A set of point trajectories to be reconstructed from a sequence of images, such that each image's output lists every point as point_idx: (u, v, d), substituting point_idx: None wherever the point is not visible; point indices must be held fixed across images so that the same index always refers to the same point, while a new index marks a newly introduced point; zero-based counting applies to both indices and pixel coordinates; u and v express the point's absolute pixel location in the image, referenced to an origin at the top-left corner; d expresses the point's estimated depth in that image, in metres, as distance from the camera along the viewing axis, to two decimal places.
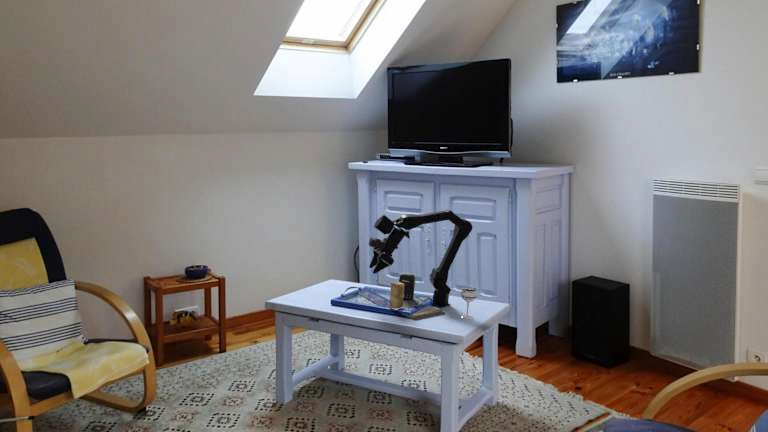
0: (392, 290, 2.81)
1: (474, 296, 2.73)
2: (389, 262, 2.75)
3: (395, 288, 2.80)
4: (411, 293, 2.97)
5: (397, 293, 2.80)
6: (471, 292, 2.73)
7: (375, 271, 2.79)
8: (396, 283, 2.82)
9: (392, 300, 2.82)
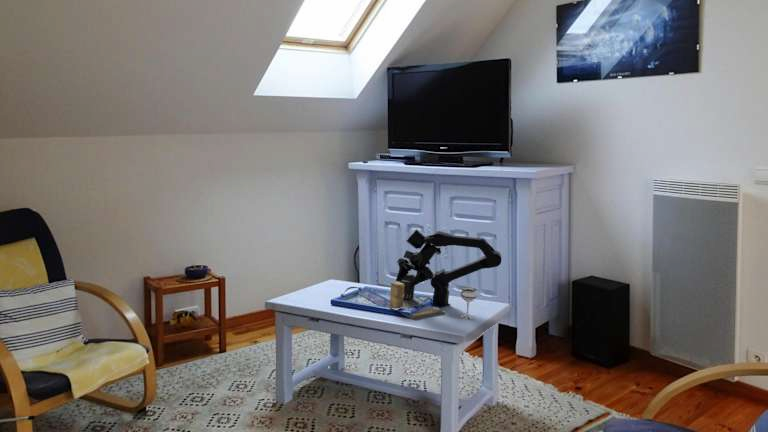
0: (392, 290, 2.81)
1: (474, 296, 2.73)
2: (430, 276, 2.80)
3: (395, 288, 2.80)
4: (411, 293, 2.97)
5: (397, 293, 2.80)
6: (471, 292, 2.73)
7: (412, 284, 2.81)
8: (396, 283, 2.82)
9: (392, 300, 2.82)
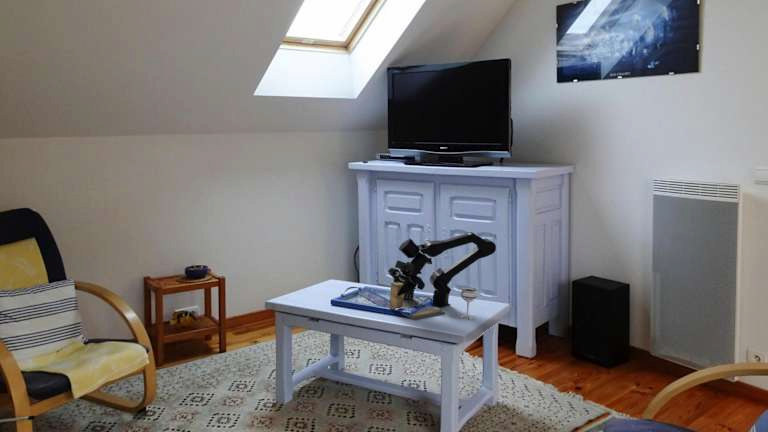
0: (392, 290, 2.81)
1: (474, 296, 2.73)
2: (422, 286, 2.78)
3: (395, 288, 2.80)
4: (411, 293, 2.97)
5: (397, 293, 2.80)
6: (471, 292, 2.73)
7: (400, 293, 2.80)
8: (396, 283, 2.81)
9: (392, 300, 2.82)
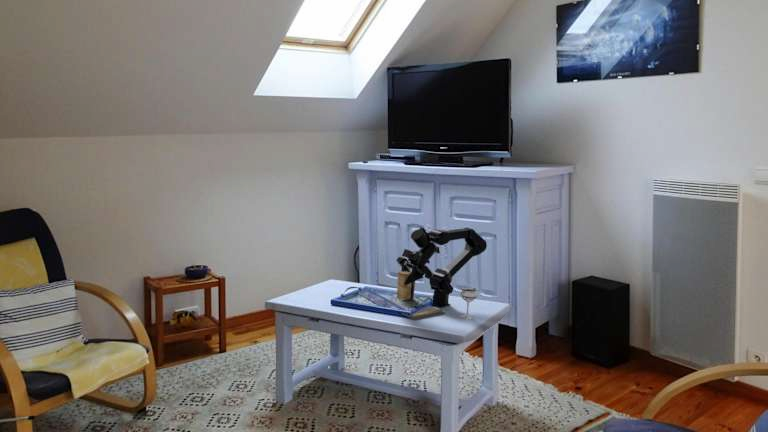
0: (399, 279, 2.77)
1: (474, 296, 2.73)
2: (429, 275, 2.73)
3: (402, 277, 2.76)
4: (411, 293, 2.97)
5: (404, 282, 2.76)
6: (471, 292, 2.73)
7: (407, 282, 2.76)
8: (404, 272, 2.77)
9: (399, 289, 2.78)
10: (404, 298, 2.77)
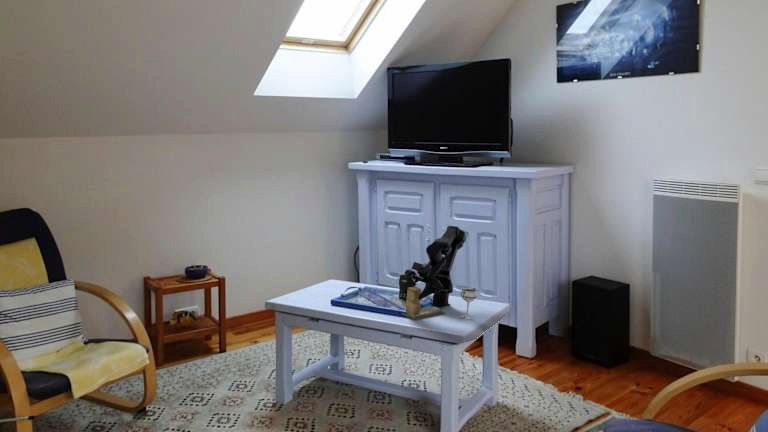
0: (409, 295, 2.73)
1: (474, 296, 2.73)
2: (439, 289, 2.69)
3: (412, 293, 2.72)
4: None
5: (414, 298, 2.72)
6: (471, 292, 2.73)
7: (421, 297, 2.70)
8: (413, 288, 2.73)
9: (408, 305, 2.74)
10: None
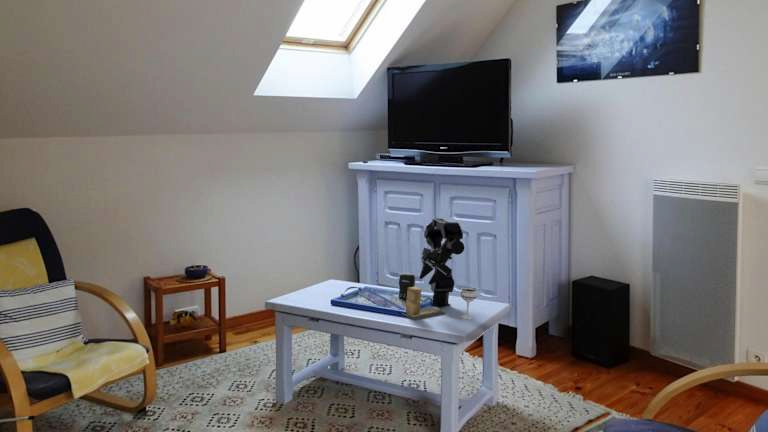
0: (409, 295, 2.73)
1: (474, 296, 2.73)
2: (448, 273, 2.72)
3: (412, 293, 2.72)
4: None
5: (414, 298, 2.72)
6: (471, 292, 2.73)
7: (431, 282, 2.75)
8: (413, 288, 2.73)
9: (408, 305, 2.74)
10: None
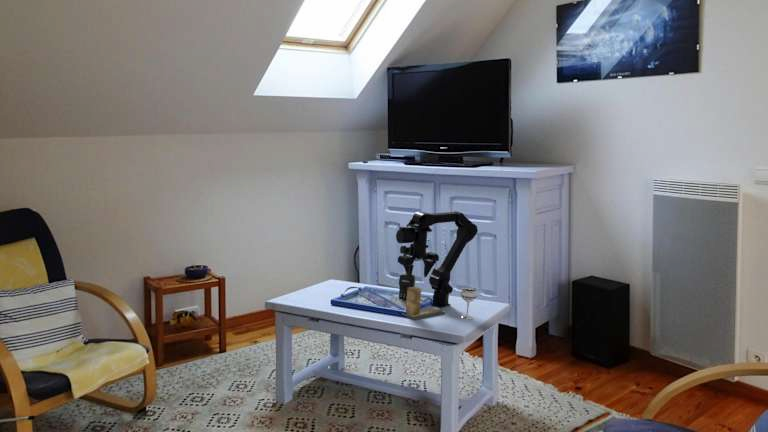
0: (409, 295, 2.73)
1: (474, 296, 2.73)
2: (403, 262, 2.76)
3: (412, 293, 2.72)
4: None
5: (414, 298, 2.72)
6: (471, 292, 2.73)
7: (408, 277, 2.80)
8: (413, 288, 2.73)
9: (408, 305, 2.74)
10: None
